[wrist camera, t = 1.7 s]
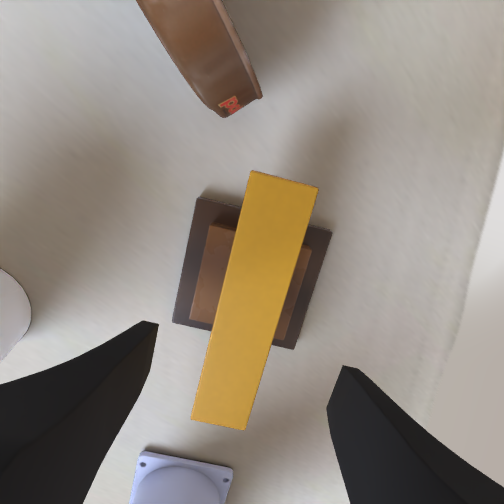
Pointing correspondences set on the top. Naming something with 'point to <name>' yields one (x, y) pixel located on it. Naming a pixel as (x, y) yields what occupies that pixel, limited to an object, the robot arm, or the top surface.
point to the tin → (205, 51)
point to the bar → (252, 297)
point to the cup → (12, 313)
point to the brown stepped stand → (215, 265)
